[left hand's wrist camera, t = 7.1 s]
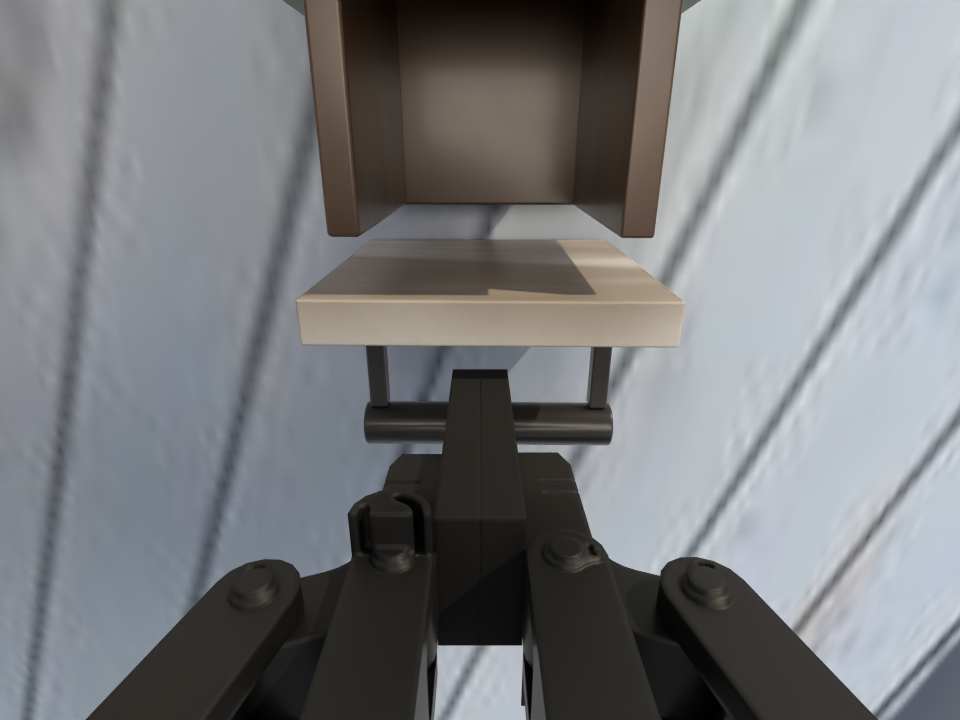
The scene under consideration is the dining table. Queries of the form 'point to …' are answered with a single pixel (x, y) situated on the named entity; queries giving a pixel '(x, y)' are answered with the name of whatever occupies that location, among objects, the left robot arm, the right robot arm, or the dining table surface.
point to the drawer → (491, 186)
